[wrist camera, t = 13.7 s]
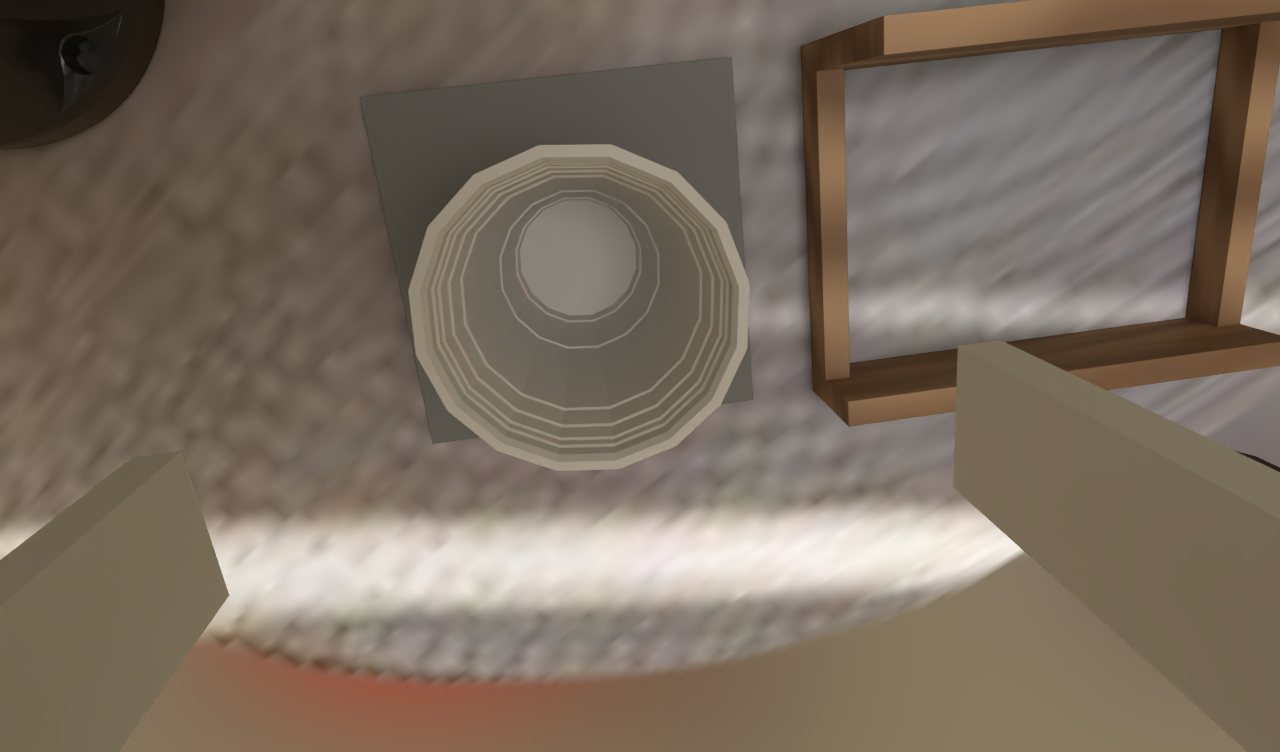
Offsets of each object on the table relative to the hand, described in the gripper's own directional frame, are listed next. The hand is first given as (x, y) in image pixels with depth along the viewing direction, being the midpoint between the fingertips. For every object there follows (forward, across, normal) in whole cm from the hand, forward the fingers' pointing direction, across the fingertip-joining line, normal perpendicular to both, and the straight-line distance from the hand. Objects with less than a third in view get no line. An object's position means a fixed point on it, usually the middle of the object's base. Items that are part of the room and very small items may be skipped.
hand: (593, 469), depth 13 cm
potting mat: (+24, 0, 0) cm, 24 cm away
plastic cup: (+23, 0, 0) cm, 23 cm away
